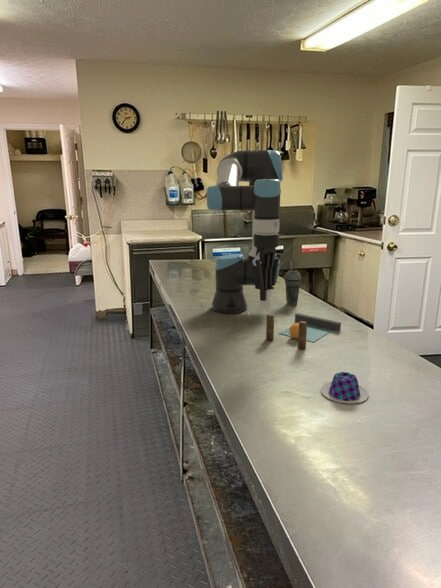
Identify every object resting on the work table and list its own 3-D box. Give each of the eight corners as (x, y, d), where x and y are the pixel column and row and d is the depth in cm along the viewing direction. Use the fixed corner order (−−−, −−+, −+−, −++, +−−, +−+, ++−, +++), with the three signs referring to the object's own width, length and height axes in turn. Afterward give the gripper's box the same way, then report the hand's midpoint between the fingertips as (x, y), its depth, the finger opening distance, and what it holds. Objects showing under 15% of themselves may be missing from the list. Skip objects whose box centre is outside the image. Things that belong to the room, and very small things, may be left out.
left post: (264, 339, 151) (265, 315, 148) (268, 337, 152) (269, 313, 150) (270, 341, 149) (271, 316, 147) (274, 339, 151) (275, 314, 148)
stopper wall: (294, 321, 169) (295, 314, 168) (297, 320, 170) (297, 313, 169) (338, 331, 158) (338, 323, 157) (340, 330, 159) (340, 322, 158)
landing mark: (278, 333, 156) (278, 333, 156) (298, 323, 167) (298, 323, 167) (313, 342, 148) (313, 342, 148) (331, 331, 158) (331, 330, 158)
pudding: (333, 379, 122) (334, 362, 120) (375, 392, 114) (377, 374, 113) (312, 395, 113) (313, 377, 112) (356, 411, 106) (358, 391, 104)
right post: (296, 348, 143) (297, 322, 140) (300, 346, 145) (301, 320, 142) (303, 350, 141) (304, 324, 139) (307, 348, 143) (308, 322, 141)
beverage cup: (300, 307, 187) (301, 261, 182) (283, 306, 189) (284, 261, 184) (300, 302, 194) (302, 258, 189) (284, 301, 196) (285, 258, 190)
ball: (286, 324, 150) (294, 319, 154) (286, 338, 152) (294, 333, 156) (300, 328, 146) (308, 323, 150) (299, 342, 148) (307, 337, 152)
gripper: (264, 236, 120) (263, 317, 126) (288, 232, 129) (286, 307, 136) (243, 234, 124) (242, 312, 131) (267, 230, 134) (266, 302, 140)
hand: (264, 309), depth 133 cm, fingers closed
